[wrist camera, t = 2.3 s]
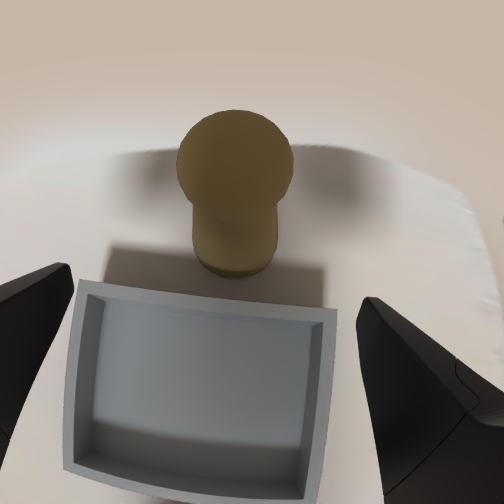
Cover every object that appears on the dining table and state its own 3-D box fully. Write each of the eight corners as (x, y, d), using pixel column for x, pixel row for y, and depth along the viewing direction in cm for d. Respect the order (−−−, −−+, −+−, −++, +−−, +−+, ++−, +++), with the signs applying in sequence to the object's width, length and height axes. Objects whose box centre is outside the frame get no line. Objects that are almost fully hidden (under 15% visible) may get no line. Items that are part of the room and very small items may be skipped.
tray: (322, 316, 22) (337, 309, 18) (303, 489, 18) (315, 509, 14) (100, 290, 21) (79, 279, 18) (85, 456, 17) (63, 469, 14)
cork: (181, 214, 23) (147, 113, 13) (258, 188, 24) (273, 79, 14) (209, 291, 22) (184, 231, 11) (291, 260, 23) (335, 179, 12)
